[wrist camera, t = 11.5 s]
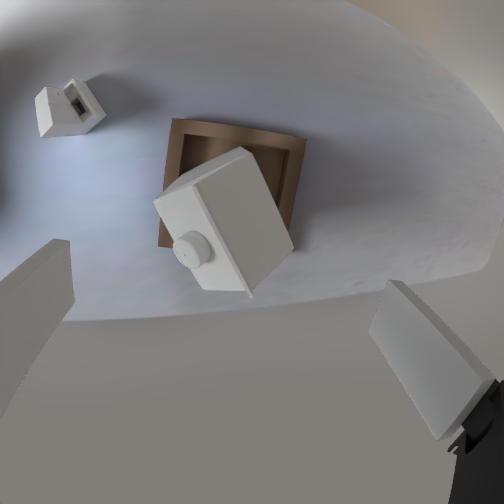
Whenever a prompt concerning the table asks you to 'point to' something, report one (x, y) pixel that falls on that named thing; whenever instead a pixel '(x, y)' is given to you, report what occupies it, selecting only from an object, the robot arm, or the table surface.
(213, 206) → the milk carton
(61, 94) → the white angled block
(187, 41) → the table surface
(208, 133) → the square wooden tray
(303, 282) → the table surface
